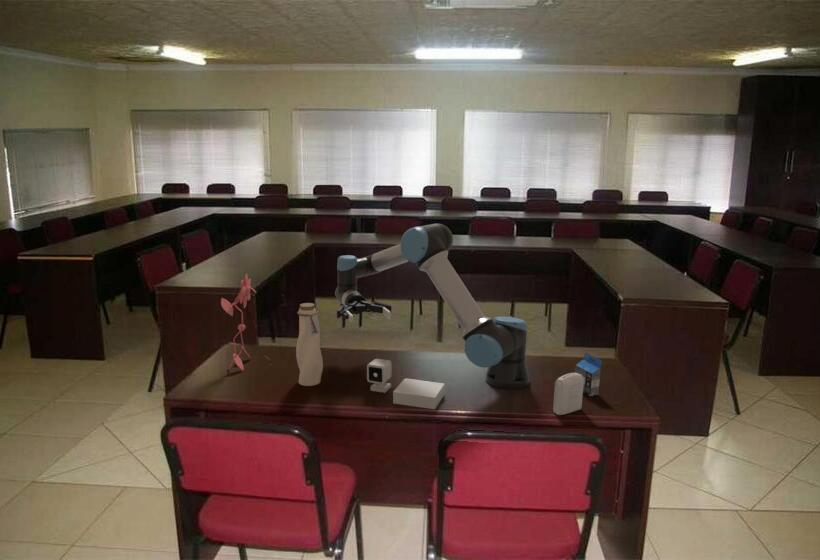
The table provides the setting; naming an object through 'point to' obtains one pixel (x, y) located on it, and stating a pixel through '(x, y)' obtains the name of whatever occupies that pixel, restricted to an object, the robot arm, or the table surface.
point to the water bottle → (309, 346)
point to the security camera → (379, 374)
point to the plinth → (419, 393)
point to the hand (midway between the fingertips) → (371, 317)
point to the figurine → (228, 308)
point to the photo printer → (568, 393)
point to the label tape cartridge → (589, 374)
